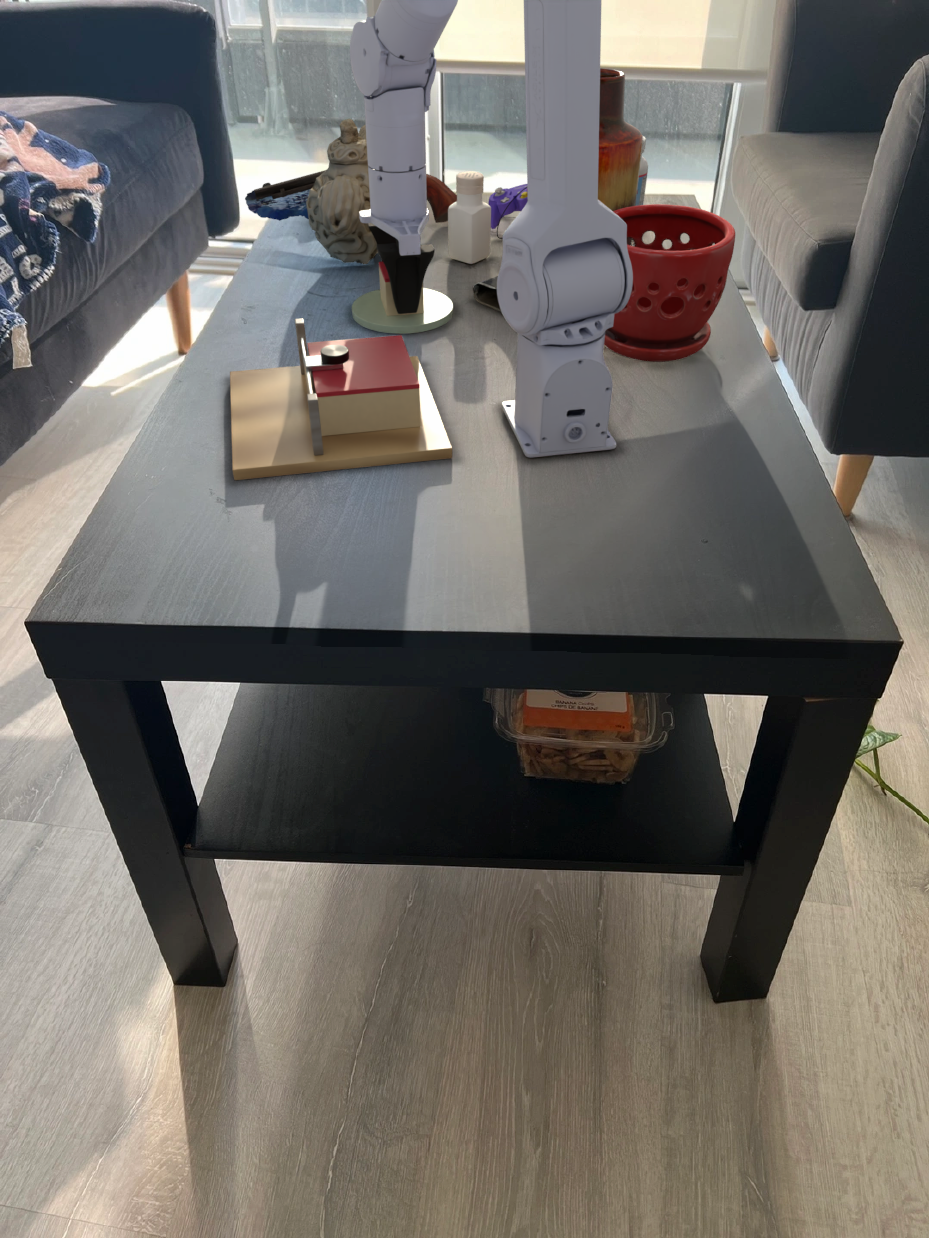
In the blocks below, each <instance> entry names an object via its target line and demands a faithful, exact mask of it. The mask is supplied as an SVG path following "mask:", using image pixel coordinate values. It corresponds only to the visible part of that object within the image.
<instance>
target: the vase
mask: <svg viewBox="0 0 929 1238" xmlns="http://www.w3.org/2000/svg"><path fill="white" fill-rule="evenodd" d="M625 88H626V74H625V73H624V72H623V71H620V70H617V69H612V68H603V67H600V104H599V157H598V200H599V201H600V202H602V203H603V204H604V205H605V206H607V207H608V208H609V209H610V210H612V211H615V210H618V209H622V208H626V207H631V206H635V205H636V196H637V188H638V179H639V171H640V162H641V153H642V144H643V136H644V135H643V134H642V132H641V131H640V129H638V128H637V127H635V126H634V125H632V124H630V123H628V122H626V120H625V118H624V115H625V114H624V113H625V112H624V110H625ZM642 154H643V153H642ZM627 245H630V246H632V239H631V238H629V237H627Z"/></svg>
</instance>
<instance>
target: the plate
mask: <svg viewBox="0 0 929 1238" xmlns="http://www.w3.org/2000/svg"><path fill="white" fill-rule="evenodd" d="M423 293H424V313H421V314H408V315H395V316H387V315H386V312H385V309H384V306H383V303H382V301H381V296H380V288H379V289H374V290H371V291H369V292H366V293H363V294H361V295H359V297H356V299H355V300H354V301H353V302H352V304H351V315H352V316H351V317H352V318H353V320H354V322H355V323H357V324H358V325H359V326H361V327H363V328H366V329H368V330H371V331H375V332H379V333H385V334H397V335H403V334H404V335H405V334H416V333H425V332H427V331H431V330H435V329H438V328H439V327H441V326H444V325H446V324H447V323H448V322H450V320H451V319H452V318H453V316H454V303H453V301H452V299H451V298H450V297H449V296H447V295H445V294H443V293H442V292H439V291H437V290H434V289H430V288H427V287H423Z"/></svg>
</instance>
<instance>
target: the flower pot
mask: <svg viewBox="0 0 929 1238" xmlns="http://www.w3.org/2000/svg"><path fill="white" fill-rule="evenodd" d="M613 212H614V213H615V214H617V215H618V216H619V217H620V218H621V219H622V220H623V221H624V222H625V223H626V224H627V237H629V238H631V240H632V241H633V243H634V245H631V246H630V245H627V249H628V254H629V258H630V261H631V265H632V270H633V285H632V291H631V295H630V298H629V301H628V303H627V304H626V306H625V307H624V308H623V309H622V310H621V311H620V312H618V313H616V314H614V323H613V327H611V328H608V329H607V330H606V331H605V340H604V347H605V348H607V349H608V350H609V351H612V352H613V353H615V354H617V355H619V356H622V357H625V358H628V359H631V360H636V361H640V362H649V363H667V362H674V361H678V360H679V361H680V360H682V359H686V358H689V357H690V356H693V355H694V354H697V353H698V352H699V351H701V350H702V349H703V348H705V346H706V345H707V343H708V342H709V340H710V338H711V335H712V334H711V332H712V330H711V325H710V323H709V320H710V319H711V317H712V316H713V314H714V313H715V311H716V310H717V309H716V308H717V307H718V305H719V303H720V300H721V298H722V296H723V293H724V291H725V288H726V284H727V279H728V273H729V268H730V265H731V262H732V259H733V255H734V249H735V242H736V229H735V227H734V226H733V224H732V223H730V222H729V221H728V220H727V219H725V218H724V217H722V216H720V215H718V214H717V213H715V212H712V211H711V212H710V211H709V210H706V209H701V208H697V207H693V206H687V205H677V204H665V203H664V204H661V203H657V204H656V203H655V204H654V203H653V204H643V205H638V206H631V207H626V208H622V209H618V210H615V211H613ZM648 232H652V233H654V238H653V240H652V241H651V242H650V243H646V242H644V241H643V237H644V235H645V234H646V233H648ZM682 234H686V235H687V236H688V241H687V242H683V241H682V239H681V238H682V237H681V236H682ZM666 240H667V241H668V240H669V241H670V243H671V246H670V247H669V248H665V247H664V246H663V243H664V242H665V241H666Z"/></svg>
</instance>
